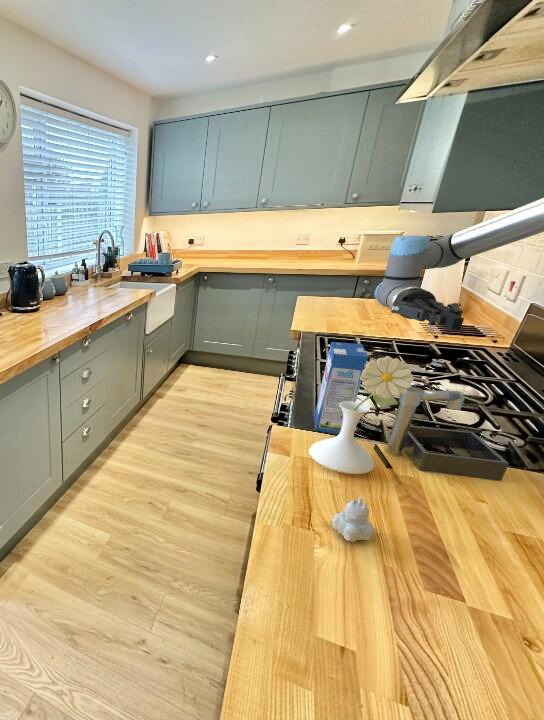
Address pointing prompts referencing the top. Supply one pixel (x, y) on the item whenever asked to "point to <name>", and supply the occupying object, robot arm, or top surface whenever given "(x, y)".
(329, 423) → the milk carton
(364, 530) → the grey creature figurine
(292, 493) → the top surface
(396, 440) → the faucet base
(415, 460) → the dark grey open tray
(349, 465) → the flower in vase
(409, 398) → the spout
